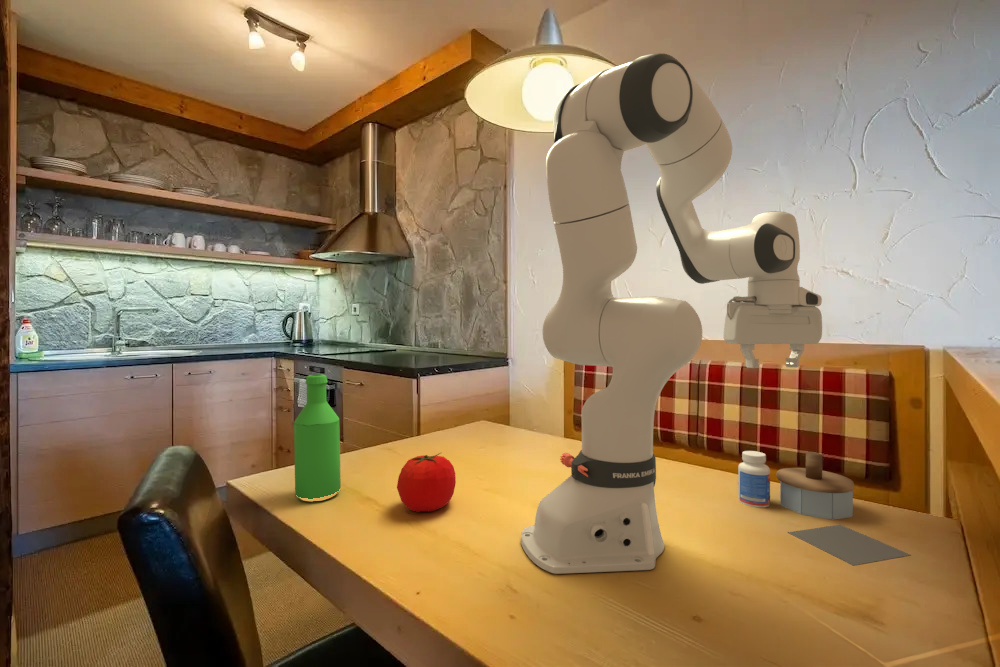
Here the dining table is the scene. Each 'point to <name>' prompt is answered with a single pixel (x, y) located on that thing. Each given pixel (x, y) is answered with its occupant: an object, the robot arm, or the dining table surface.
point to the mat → (848, 544)
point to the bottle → (317, 444)
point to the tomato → (426, 483)
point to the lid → (815, 477)
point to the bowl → (817, 502)
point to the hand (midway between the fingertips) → (772, 367)
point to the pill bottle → (754, 480)
